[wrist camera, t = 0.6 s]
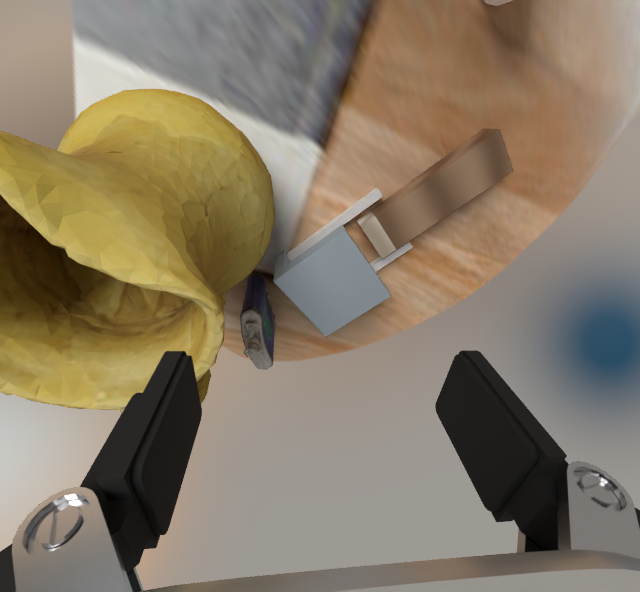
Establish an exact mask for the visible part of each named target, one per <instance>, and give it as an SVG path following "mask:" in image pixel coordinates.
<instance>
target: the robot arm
mask: <svg viewBox="0 0 640 592" xmlns="http://www.w3.org/2000/svg"><path fill="white" fill-rule="evenodd" d="M436 412H437V414H438V416H439V418H440V420H441V422H442V424H443V426H444V428H445V430H446V432H447V434H448V436H449V438H450V440H451V442H452V444H453V446H454V448H455V449H456V451H457V454H458V456H459V457H460V459H461V461H462V463H463V465H464V467H465V469H466V471H467V473H468V475H469V477H470V479H471V481H472V483H473V485H474V487H475V489H476V491H477V493H478V495H479V497H480V499H481V501H482V502H483V504H484V506H485V508H487V510H489V511H491V512H492V514H493V516H494V518H495V520H496V522H504V521H512V520H515V522H516V524H517V526H518V527H519V533H518V546H517V553H509V554H497V555H485V556H474V557H462V558H450V559H438V560H427V561H415V562H405V563H393V564H382V565H372V566H360V567H349V568H338V569H328V570H318V571H306V572H297V573H285V574H276V575H265V576H254V577H244V578H235V579H226V580H217V581H209V582H200V583H191V584H183V585H174V586H168V587H163V588H157V589H152V590H146V591H144V590H143V587H142V584H141V582H140V579H139V576H138V574H137V571H136V568H135V566H137V564H139V562H140V559H141V556H142V554H143V551H144V549H149V548H156V547H157V543H158V540H159V537H160V535H165V534H166V532H167V531H168V528H169V525H170V522H171V518H172V515H173V511H174V508H175V505H176V501H177V498H178V494H179V491H180V488H181V484H182V481H183V478H184V474H185V471H186V468H187V464H188V461H189V458H190V454H191V451H192V447H193V444H194V441H195V437H196V434H197V431H198V427H199V424H200V421H201V415H202V408H201V403H200V397H199V392H198V387H197V381H196V376H195V370H194V365H193V359H192V356H190V355H187V354H186V352H185V351H166V352H165V353H164V354H163V356H162V358H161V360H160V362H159V364H158V365H157V367H156V369H155V371H154V373H153V375H152V376H151V378H150V380H149V382H148V384H147V386H146V388H145V389H144V391H143V393H136V394H134V395H133V396H132V397H131V399H130V400H129V402H128V404H127V405H126V407H125V409H124V411H123V412H122V414H121V416H120V418H119V420H118V421H117V423H116V425H115V427H114V428H113V430H112V432H111V433H110V435H109V437H108V439H107V441H106V442H105V444H104V446H103V447H102V449H101V451H100V453H99V454H98V456H97V458H96V459H95V461H94V463H93V465H92V466H91V468H90V470H89V472H88V473H87V475H86V477H85V479H84V480H83V482H82V484H81V486H80V487H74V488H70V489H66V490H63V491H61V492H59V493H56V494H55V495H52V496H50V497H49V498H48V499H46V500H45V501H43V502H42V503H40V504H39V505H38V506H37V507H36V508H35V509H34V510H33V511H32V512H31V513H30V514H28V516H27V517H26V518H25V520H24V521H23V522H22V524H21V525H20V526H19V528H18V530H17V532H16V535H15V537H14V539H13V544H11V545H10V546H8V547H7V548H5V549H4V550H2V551H1V552H0V592H640V510H638V509H636V508H635V507H634V504H633V502H632V499H631V497H630V496H629V494H628V493H627V491H626V490H625V489H624V487H622V485H620V483H619V482H618V481H617V480H616V479H614V478H613V477H612V476H610V475H609V474H608V473H606V472H605V471H603V470H601V469H600V468H598V467H596V466H594V465H591V464H589V463H585V462H580V461H577V462H572V463H570V464H568V463H567V462H566V461H565V458H566V454H565V453H564V452H563V450H562V449H561V448H560V447H559V446H558V445H557V443H556V442H555V441H554V440H553V439H552V437H551V436H550V435H549V434H548V433H547V431H546V430H545V429H544V428H543V427H542V425H541V424H540V423H539V422H538V421H537V419H536V418H535V417H534V416H533V415H532V413H531V412H530V411H529V410H528V409H527V407H526V406H525V405H524V404H523V403H522V401H521V400H520V399H519V398H518V397H517V396H516V394H515V393H514V392H513V391H512V390H511V388H510V387H509V386H508V385H507V384H506V382H505V381H504V380H503V379H502V378H501V377H500V375H499V374H498V373H497V372H496V370H495V369H494V368H493V367H492V366H491V364H490V363H489V362H488V361H487V360H486V359H485V357H484V356H483V355H482V354H481V353H480V352H479V351H461V352H459V354H458V355H456V356H455V357H454V360H453V362H452V365H451V367H450V370H449V372H448V375H447V377H446V380H445V382H444V385H443V387H442V390H441V392H440V395H439V397H438V399H437V402H436Z"/></svg>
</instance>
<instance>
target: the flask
mask: <svg viewBox="0 0 640 592" xmlns="http://www.w3.org/2000/svg"><path fill="white" fill-rule="evenodd" d="M266 288H267V285H266V279H265V277H264V276H262V275H261V274H260V273H258V274H256V273H255V274H252V275H250V276H249V278H248V282H247V289H246V294H245V299H244V303H243V308H242V312H241V315H240V321H241V333H242V337H243V342H244V344H245V347H246V349H245V350H244V354H245V355H246V354H247V352H248V354H249V356H250V358H251V360H252V362H253V363H254V364H255V366H256V367H257V368H259V369H268V368H269V367H271V366H272V365H273V351H274V333H275V316H274V315H273V314H272V306H271V305H272V304H271V301H270V300H269V299H268V292H267V291H266ZM246 357H248V355H246Z"/></svg>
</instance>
